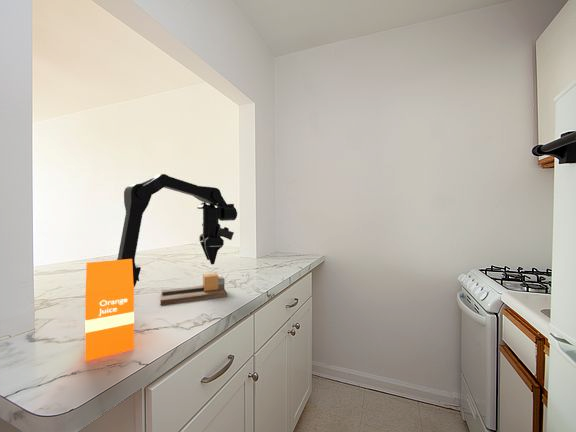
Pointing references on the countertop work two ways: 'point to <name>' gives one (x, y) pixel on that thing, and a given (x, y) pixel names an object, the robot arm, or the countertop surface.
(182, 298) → the track
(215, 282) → the block
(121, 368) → the countertop surface
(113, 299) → the orange juice
